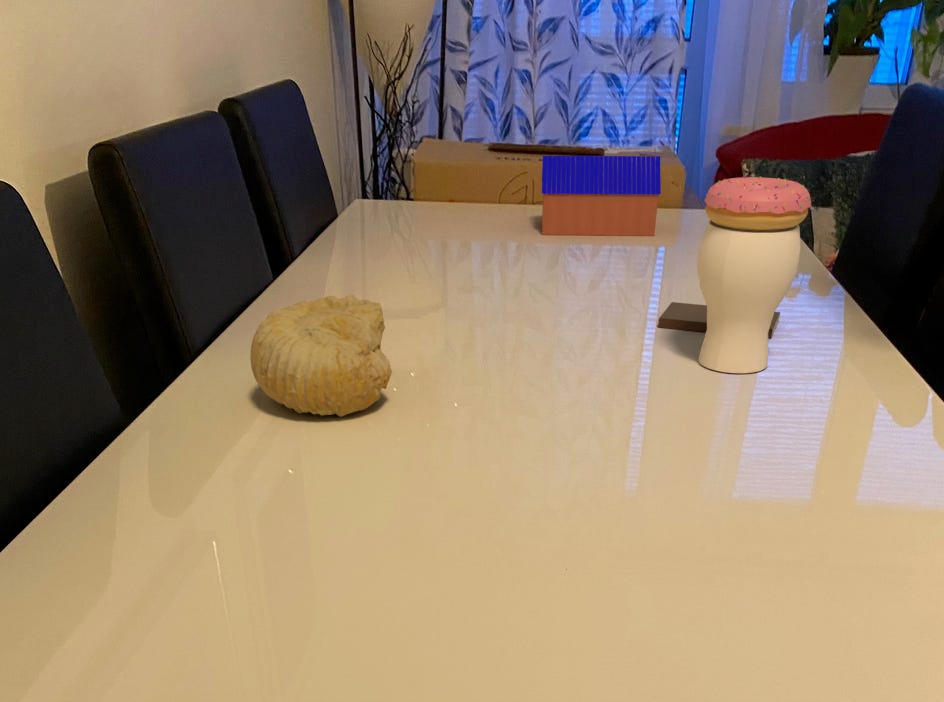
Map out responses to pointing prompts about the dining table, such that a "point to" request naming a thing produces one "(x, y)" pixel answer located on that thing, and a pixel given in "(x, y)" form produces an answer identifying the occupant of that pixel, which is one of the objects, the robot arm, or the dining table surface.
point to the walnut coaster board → (695, 318)
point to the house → (600, 195)
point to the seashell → (322, 355)
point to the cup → (743, 292)
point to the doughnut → (757, 203)
